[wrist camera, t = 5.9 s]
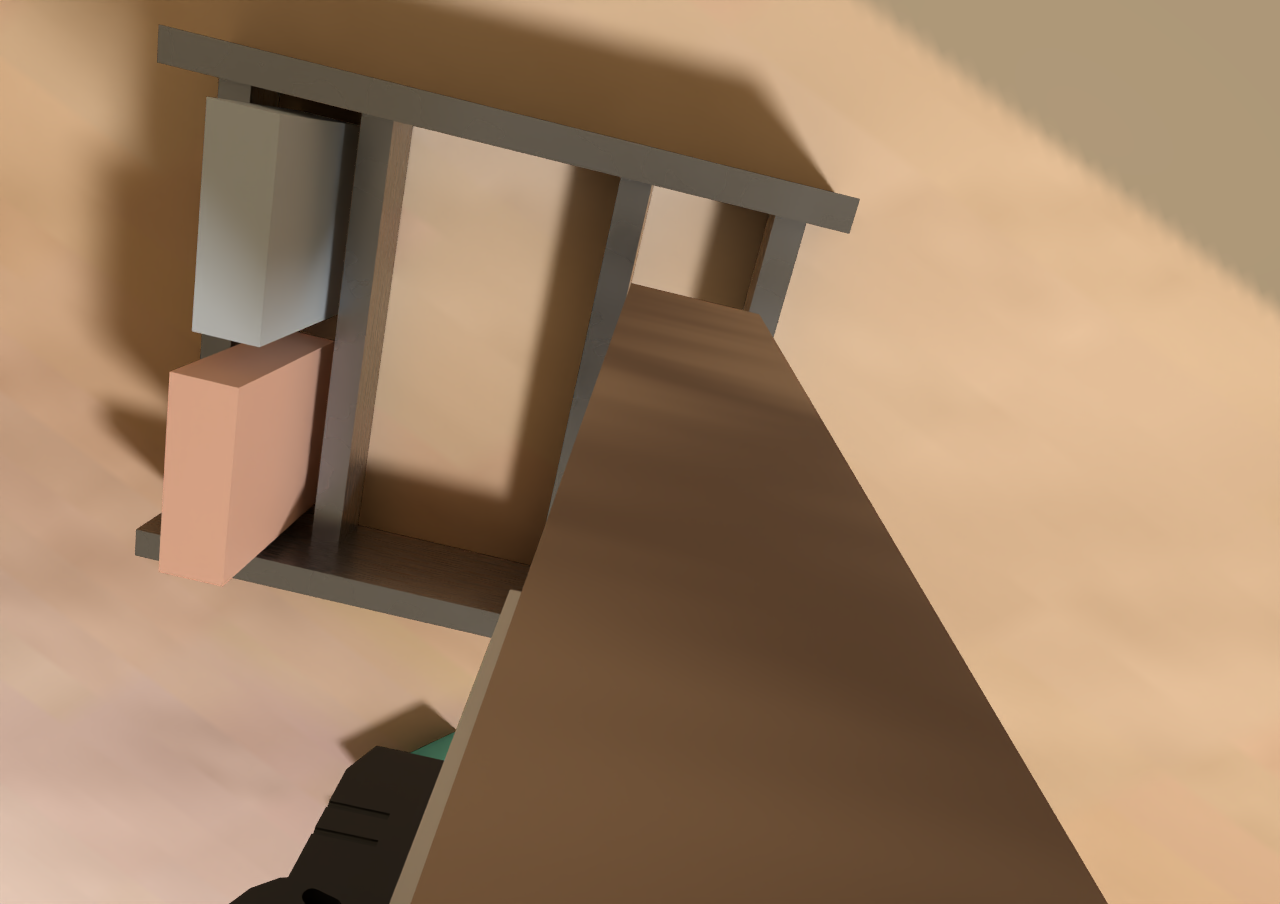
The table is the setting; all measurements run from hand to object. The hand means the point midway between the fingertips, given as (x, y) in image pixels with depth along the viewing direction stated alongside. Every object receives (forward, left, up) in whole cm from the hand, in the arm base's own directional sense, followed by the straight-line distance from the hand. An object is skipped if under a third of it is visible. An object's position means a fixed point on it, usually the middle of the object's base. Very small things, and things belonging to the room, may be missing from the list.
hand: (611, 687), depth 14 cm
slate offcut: (-13, +4, -18) cm, 22 cm away
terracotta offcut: (-13, -4, -18) cm, 22 cm away
